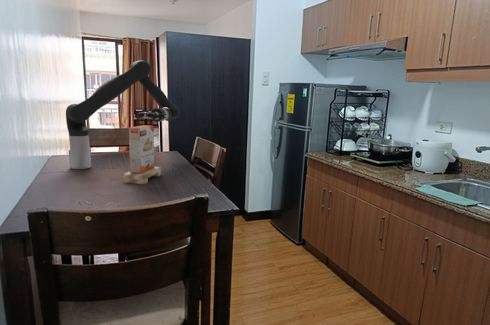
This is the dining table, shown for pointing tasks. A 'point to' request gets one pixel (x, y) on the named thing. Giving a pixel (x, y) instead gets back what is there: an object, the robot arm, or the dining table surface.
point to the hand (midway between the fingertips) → (145, 116)
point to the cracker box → (141, 148)
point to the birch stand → (141, 176)
